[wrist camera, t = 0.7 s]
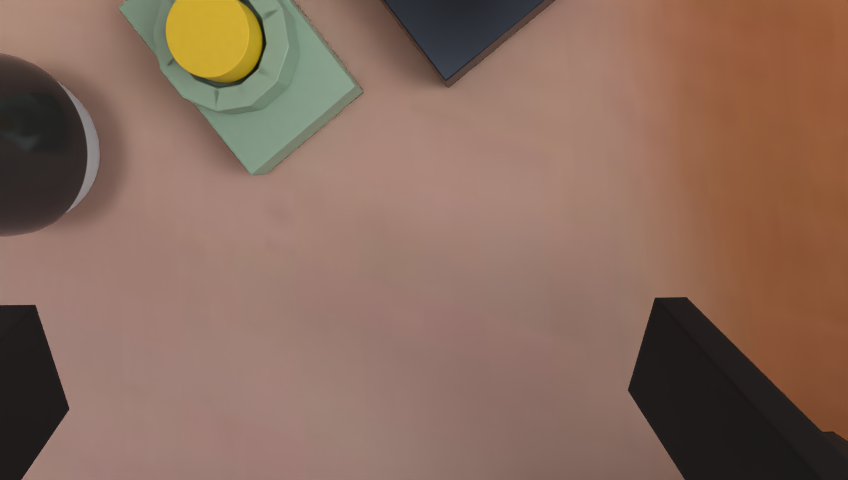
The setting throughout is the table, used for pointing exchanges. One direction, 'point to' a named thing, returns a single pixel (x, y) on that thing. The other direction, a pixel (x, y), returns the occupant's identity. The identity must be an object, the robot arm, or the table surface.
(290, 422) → the table surface
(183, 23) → the button
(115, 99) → the table surface
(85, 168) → the pump dispenser
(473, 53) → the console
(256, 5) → the button box
